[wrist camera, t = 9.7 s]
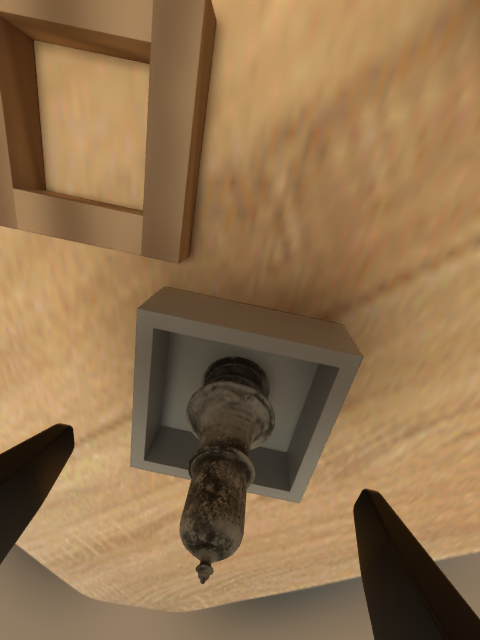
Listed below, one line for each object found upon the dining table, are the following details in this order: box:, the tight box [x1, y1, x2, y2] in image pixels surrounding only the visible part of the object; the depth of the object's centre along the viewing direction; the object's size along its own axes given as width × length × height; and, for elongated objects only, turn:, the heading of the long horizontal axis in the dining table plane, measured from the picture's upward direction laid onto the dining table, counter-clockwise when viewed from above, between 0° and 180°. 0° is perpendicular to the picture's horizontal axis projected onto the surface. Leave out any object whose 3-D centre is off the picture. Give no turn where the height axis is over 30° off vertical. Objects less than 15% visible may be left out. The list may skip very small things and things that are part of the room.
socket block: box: [0, 0, 216, 263], centre depth 15 cm, size 12×12×2 cm
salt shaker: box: [179, 357, 275, 584], centre depth 16 cm, size 6×6×12 cm
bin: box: [130, 287, 363, 504], centre depth 20 cm, size 13×13×4 cm
